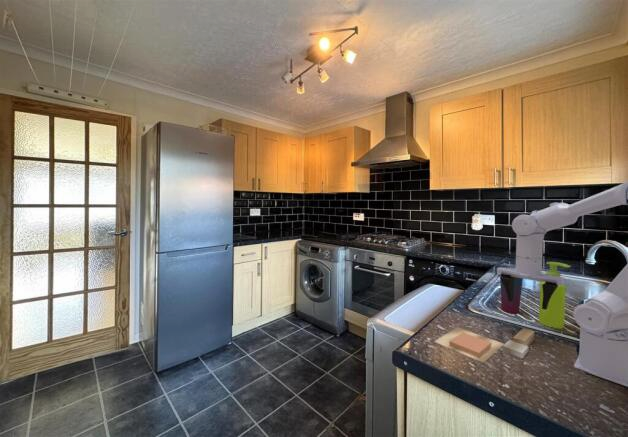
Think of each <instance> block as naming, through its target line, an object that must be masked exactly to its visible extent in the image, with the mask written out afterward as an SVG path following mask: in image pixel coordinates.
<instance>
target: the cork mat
mask: <svg viewBox="0 0 628 437" xmlns="http://www.w3.org/2000/svg"><path fill="white" fill-rule="evenodd" d="M461 333H466V334H469V335H472V336H474V337H477V338H480V339H483V340H485V341H488V342H491V347H490V348H489V349H488V350H487V351H486V352H484V353H483V354H482V355H481V356H480V357H476V356H474V355H471V354H469V353H467V352H464V351H462V350H459V349H457V348H455V347H452V346H450V345H449V341H450V340H452V339H453V338H455V337H456V336H458V335H459V334H461ZM433 342H434V343H436V344H438V345H440V346H444V347H446V348H448V349H450V350H452V351H455V352H457V353H459V354H461V355H464V356H466V357H469V358H472V359H474V360H476V361H478V362H481V363H483V364H484V363H485V362H487V360H488V359H490V358H491V357H492V356H493V355H495V354H496V352H497V351H499V350H500V349H501V348H503V345H504V344H505V343H502V342H501V341H497V340H495V339H492V338H488V337H486V336H484V335H480V334H477V333H475V332H472V331H469V330H466V329H463V328H460V327H458V326H456V327H455V328H454V329H452V330H451V331H449V332H448V333H446V334H444V335H442V336H440V337H439V338H437V339H436V340H434V341H433Z"/></svg>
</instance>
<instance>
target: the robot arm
mask: <svg viewBox="0 0 628 437" xmlns="http://www.w3.org/2000/svg"><path fill="white" fill-rule="evenodd" d="M621 205H623V206H625V205H626V206H628V181H625V182H623V183H621V184H619V185H616V186H613V187H611V188H610V189H605V190H604V191H602V192H599V193H596V194H593V195H590V196H589V197H587V198H584V199H581V200H579V201H576V202H573V203H571V204H568V203H565V202H552V203H550V204H549V207H546V208H543V209H540V210H533V211H531V213H530V214H519V215H518V216H516V217H515V218H514V219H513V220H512V222H511V228H512V231H513V232H514V233H515V234H516V242H515V243H516V245H515V248H516V249H515V269H508V268H509V267H497V269H496V275H498V276H499V280H501V281H502V283H503V285H504V287H505V290H506V292H507V296H508V301H513V298H514V281H515V277H518V278H523V280H530V281H535V282H539V283H540V282H545V283H544V284H543V285H542V287H543V302H542V309H545V310H546V309H547V307H548V303H549V300H550V298H551V296H552V294H553V293H554V291H555V290H556V288H557V287H558V286H559V285H560V286H563V285H565V278H564V277H563V276H560V277H558V276H553V275H548V274H546V273H544V272H543V273H542V271H543V250H544V248H543V244H544V240H545V235H546V234H547V232H550V231H552V230H556V229H559V228H562V227H567V226H570V225H574V224H575V223H576V222H577V221H578V218H579V217H581V216H582V217H583V216H585V215H589V214H593V213H596V212H599V211H604V210H607V209H611V208H614V207H617V206H621ZM500 275H501V277H500ZM572 313H573V318H574V321H575V323H576V324H577V325H578V326H579V332H580V333H579V348H578V349H579V350H578V353H579V354H578V356H577V359H576V360H575V362H574V364H573V367H574V368H576V369H579V370H582V371H584V372H586V373H587V374H590V375H593V376H596V377H599V378H602V379H604V380H607V381H610V382H613V383H616V384H618V385H622V386H623V387H624V386H625V387H627V388H628V263H627V264H626V265H625V266H624V267H623V268H622V270H620V272H619V273H618V274H617V275H616V276H615V278H613V280H612V281H611V282H610V283H609V284H608V286H606V288H605V289H604V290H603V291H601V292H599V293H597V294H596V295H594V296H592V297H591V298H590V299H589V300H588V301H587V302H584V303H582V304H579V305H576V306H575V307H574V310H573V312H572Z"/></svg>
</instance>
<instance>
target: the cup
mask: <svg viewBox="0 0 628 437" xmlns="http://www.w3.org/2000/svg"><path fill="white" fill-rule="evenodd" d="M507 268H508V269H516V267H507ZM500 277H501V275H499V278H500ZM499 280H500V279H499ZM523 280H524V279H523V278H518V277H515V281H514V298H513V301H508V296H507V292H506V290H505V287H504V285H503V283H502V281H501V280H500V281H499V282H500V303H501V304H500V305H501V307H500V308H501V310H502V311H503V312H505V313H509V314H514V315H515V314H516V315H517V314H519V313H520V307H521V297H522V290H523V289H522V288H523V282H524V281H523Z"/></svg>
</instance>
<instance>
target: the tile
mask: <svg viewBox="0 0 628 437" xmlns="http://www.w3.org/2000/svg"><path fill="white" fill-rule="evenodd" d="M449 345H450V346H452V347H455V348H457V349H459V350H462V351H464V352H467V353H469V354H471V355H474V356H476V357H480V356H481V355H482V354H483V353H484V352H486V351H487V350H488V349H489V348H490V347H491V342H488V341H485V340H483V339H480V338H477V337H474V336H472V335H469V334H466V333H461V334H459V335H458V336H456V337H455V338H453V339H452V340H450V341H449Z"/></svg>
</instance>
